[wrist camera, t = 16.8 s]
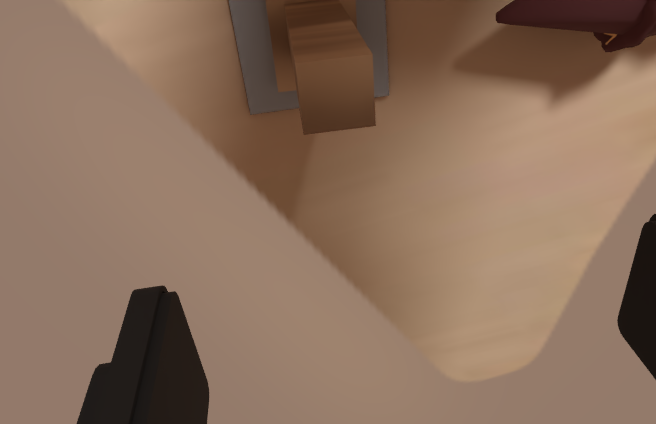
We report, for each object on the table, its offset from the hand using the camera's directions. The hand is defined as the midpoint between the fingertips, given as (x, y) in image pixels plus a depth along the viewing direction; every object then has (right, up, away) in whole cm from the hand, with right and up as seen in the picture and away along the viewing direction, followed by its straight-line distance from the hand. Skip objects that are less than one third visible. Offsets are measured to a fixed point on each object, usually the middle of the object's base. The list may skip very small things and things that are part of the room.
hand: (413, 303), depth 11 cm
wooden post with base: (-3, +13, +21) cm, 25 cm away
